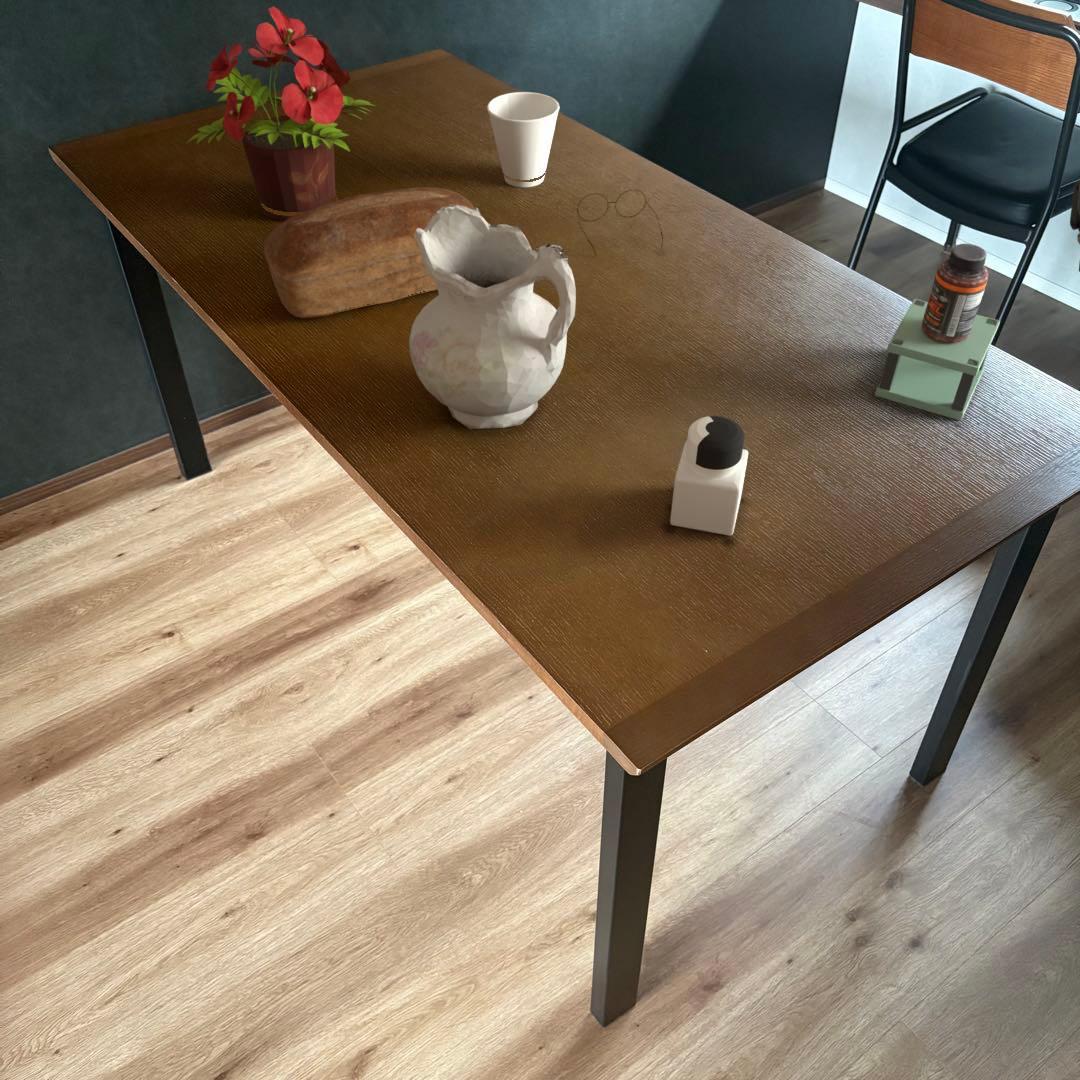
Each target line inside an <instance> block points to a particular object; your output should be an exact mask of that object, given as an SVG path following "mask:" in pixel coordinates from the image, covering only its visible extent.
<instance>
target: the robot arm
mask: <svg viewBox="0 0 1080 1080" xmlns="http://www.w3.org/2000/svg"><path fill="white" fill-rule="evenodd" d="M1073 186H1074V187H1073V193H1072V200H1071V201H1072V202H1071V209H1070V210H1071V211H1070V217H1069V226H1070V228H1071V230H1072V231H1075V230H1078V231H1079V232H1078V234H1077V240H1076V241H1077V242H1078V244H1079V245H1080V180H1077V181H1075V182H1074V185H1073ZM1078 272H1079V273H1080V261H1079V264H1078Z"/></svg>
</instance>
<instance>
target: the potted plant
mask: <svg viewBox="0 0 1080 1080" xmlns="http://www.w3.org/2000/svg"><path fill="white" fill-rule="evenodd" d="M268 12H269V14H270V16H271V18H272V20H273V21H274V23H275V25H276V28H275V26H274V25H272V24H271V23H269V22H267V21H266V22H263V23H259V24H258V26H257V28H256V31H255V33H256V41H257V43H258V44H259V45H258V44H256V43H255V42H252V41H249V42H250V44H251V45H253V46H254V47H256V48H258V49H259V50H257V49H255V48H249V49H248V53H249V54H250V55H251V57H255V58H257V59H251V64H252V65H254V66H258V67H262V68H265V69H269V68H270V70H269V71H270V72H269V78H268V79H269V80H268V85H263V86H262V82H261V79H260V77H256V78H252V75H251V74H250V73H248V74H245V75H243V76H242V75H241V72H240V71H239V70H238V69H237V68H236V66H237V64H238V63H239V60H238V57H236V56H238V55H239V54H241V53H242V51H243V47H242V44H241V43H235V44H233V45H231V47H230V49H229V51H228V55H227V41H225V42H224V43H223V46H222V49H221V51H220V53H219V54H218V55H217V57H216V58H215V59H213V60H212V61H211V63H210V67H209V73H207V79H206V87H205V90H206V91H208V92H209V91H212V93H215V94H216V93H217V94H218V93H221V94H222V93H224V94H223V95H222V96H220V97H219V98H218V99H217V102H223V101H224V102H226V107H225V112H224V113H223V117H220V118H219V119H218V120H215V121H213V122H212V123H211V124H210V125H204V126H201V127H199V128H197V129H196V130H197V131H199V132H198V133H196V134H194V135H193V136H191V138H190V139H188V140H187V142H186V144H188V143H189V142H191V141H192V140H194V139H197V140H196V143H195V144H196V145H198V144H199V143H200V142H201V141H203V140H204V139H205V138H206V137H208V136H209V137H208V142H207V143H208V145H209V144H210V143H211V141H212V140H213V139H214V138H215V136H216V141H217V143H219V142H220V140H221V139H222V137H223V135H224V134H225V133H226V135H227V136H228V137H229V138H230V139H231V140H232V141H237V142H241V143H242V146H243V149H244V153H245V155H246V160H247V162H248V165H249V169H250V172H251V175H252V178H253V181H254V184H255V188H256V191H257V195H258V198H259V200H258V205H259V208H260V210H261V213H262V214H263V215H264V216H266V218H269V219H272V220H274V221H277V222H278V221H279V222H284V221H286V220H287V219H289V218H291V217H293V216H283V215H276V214H273V213H271V212H268V211H266V210H265V209H264V208H263V207H262V205H260V204H261V203H263V204H264V205H265V206H266V207H268V208H271V209H273V210H278V211H283V212H305V211H307V210H310V209H313V208H317V207H320V206H323V205H325V204H326V203H328V202H330V200H331V199H332V198H333V197H334V194H336V197H335V201H338V200H339V199H338V194H337V191H336V173H335V172H336V170H335V169H336V168H335V145H337V146H338V147H340V148H343V149H344V150H346V151H348V152H351V150H350V148H349V146H348V145H347V143H346V142H345V141H343V140H342V139H339V138H342V137H348V136H350V134H347V133H345V132H343V130H342V129H339V128H336V127H337V126H338V125H339V124H338V123H336V122H335V121H336V120H337V119H338V118H339V116H340V115H341V114H343V115H348V116H351V117H354V118H357V119H360V120H362V121H363V119H362V118H361V117H360V116H358V115H356V114H354V113H351V112H345V111H342V110H350V111H356V112H359V113H363V114H365V115H368V116H370V114H369V113H368V112H371V113H373V111H371V110H369V109H368V108H365V107H362V106H364V105H365V106H366V105H367V106H373V107H378V106H377V105H375V103H372V102H369V101H367V100H363V99H354V98H353V97H351V96H349V95H344V94H343V93H342V91H341V89H340V88H342V87H344V86H346V85H348V83H349V82H350V81H351V75H350V72H349V71H347V70H342V68H341V67H340V65H339V63H338V61H337V60H336V58H335V57H333V55H332V54H331V53H330V47H329V46H328V45H327V44H326V43H325V42H324V41H323V40H320V39H318V38H316V37H313V36H314V35H313V34H311V33H310V34H306V33H307V31H308V30H307V28H306V25H305V24H304V23H303V21H301V20H300V19H298V18H290V17H289V16H287V15H286V14H285V13H284V12H282V11H280V10H279V8H276V7H275V6H272V7H269V8H268ZM260 50H261V52H262V53H261V52H260ZM290 50H291V51H292V53H293V54H294V55H296V56H297V57H298V58H297V59H298V61H297V62H296V61H295V60H294V59H292V58H291V57H289V56H287V55H286V53H288V52H289V51H290ZM259 58H265V59H266V60H262V59H259ZM282 62H285V63H290V64H292V65H294V67H293V72H294V75H295V79H296V80H297V82H298V83H299V84H296V83H292V82H291V83H289V84H288V85H286V86H284V88H283V91H282V94H281V97H280V96H277V93H276V80H277V76H278V72H279V69H280V66H281V64H282ZM307 62H308V63H309V64H310V65H312V66H318V69H316V68H313V67H311V66H310V65H309V64H308V63H307ZM276 66H277V67H276ZM274 67H276V70H275V74H274V77H273V80H272V73H273V68H274ZM271 81H272V83H271ZM216 84H217V85H221V87H219V88H217V89H216V90H214V88H215V86H216ZM272 84H273V86H272V87H273V97H272V96H271V85H272ZM243 92H244V93H243ZM242 94H243V95H242ZM238 101H241V103H238ZM264 104H271V106H272V110H273V113H274V117H270V115H269V113H268V111H267V109H266V108H265V106H264ZM345 105H346V106H345ZM360 105H361V106H360ZM277 106H281V107H282V109H283V111H284V113H285V115H279V114H278V109H277ZM258 107H262V108H263V110H264V111H265V114H266V115H267V119H264V118H263V116H262V114H261V113H260V112H259V110H258V109H257V108H258ZM255 111H256V112H257V113H259V115H260V117H261V118H262V120H260V119H255V118H252V117H253V116H254V114H255ZM366 111H367V112H366ZM373 114H374V113H373ZM248 120H251V121H256V122H255V123H253V124H251V125H250V126H248V127H247V128H246V125H247V123H246V122H247V121H248ZM244 128H246V129H245V131H244ZM244 132H245V133H244ZM260 201H261V202H260ZM335 201H334V202H335Z"/></svg>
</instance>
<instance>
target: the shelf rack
mask: <svg viewBox="0 0 1080 1080" xmlns="http://www.w3.org/2000/svg"><path fill="white" fill-rule="evenodd" d="M927 304H928V301H927V300H922V299H919V298H914V299H913V301H912V303H911V304H910V305H909V308H908V310H907V311H906V313H905V315H904V316H903V318H902V320H901V322H900V323H899V325H898V327H897V328H896V330H895V332H894V333H893V335H892V337H891V339H890V341H889V343H888V345H887V348H886V352H887V354H886V355H887V356H886V360H885V363H884V367H883V371H882V375H881V379H880V381H879V384H878V386H877V388H876V390H875V393H874V396H875V397H878V398H881V399H886V400H889V401H892V402H895V403H898V404H902V405H905V406H909V407H913V408H916V409H919V410H923V411H926V412H930V413H933V414H937V415H939V416H942V417H943V416H944V417H946V418H949V419H954V420H957V421H962V420H963V417H964V416H965V413H966V410H967V409H968V406H969V404H970V401H971V399H972V397H973V395H974V393H975V392H976V391H975V390H976V388H977V386H978V384H979V382H980V379H981V378H982V375H983V373H984V370H985V367H986V364H985V362H986V359H987V356H988V353H989V350H990V348H991V344H992V342H993V340H994V338H995V335H996V333H997V331H998V329H999V326H1000V323H1001V320H999V319H995V318H991V317H987V316H983V315H979V314H976V317H975V320H974V323H973V326H972V329H971V332H970V335H969V336H968V338H967V339H965V340H963V341H962V342H957V343H944V342H940V341H936V340H934V339H932V338H930V337H929V336H927V335H926V334H925V333H924V331H923V329H922V322H923V317H924V314H925V311H926V308H927Z"/></svg>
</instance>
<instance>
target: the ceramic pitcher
mask: <svg viewBox="0 0 1080 1080" xmlns="http://www.w3.org/2000/svg"><path fill="white" fill-rule="evenodd" d="M436 213H437V214H435V215H434V216H433V217H432V218H431V219H430V221H429V222H428V224H427V226H426V228H425V229H423V230H422V229H421V228H417V230H416V232H415V237H414V238H415V239H416V240H417V242H418V245H419V248H420V252H421V256H422V259H423V262H424V264H425V267H426V268H427V270H428V272H429V274H430V276H431V277H432V279H433V280H434V281H435V283H436V285H437V288H438V290H437V292H438V295H437V296H436V297H433V298H432V300H431V301H429V302H428V303H426V305H425V306H423V307H422V309H421V310H420V312H419V313H418V314H417V315H416V317H415V319H414V321H413V323H412V326H411V330H410V334H409V335H410V336H409V339H408V345H409V354H410V359H411V362H412V365H413V367H414V370H415V373H416V376H417V377H418V379H419V381H420V382H421V384H422V385H423V387H424V388H425V389H426V391H427V392H429V393H430V394H431V395H432V396H433V397H434V398H435V399H436V400H437V401H438V402H439V403H441V404H442V405H444V406H446V407H447V408H448V410H449V412H450V414H451V417H452V418H453V419H455V421H457V422H459V423H460V424H462V425H463V426H465V427H466V428H467V429H469V430H474V429H476V430H478V429H505V428H509V427H514V426H521V425H522V424H524V423H525V422H526V421H527V420H528V419H529V418H530V417H531V416H532V415H533V414H534V413H535V412H536V411H537V410H538V408H539V401H540V400H541V399H542V398H544V396H545V395H546V394H547V393H549V391H550V390H551V389H552V387H553V386H554V384H555V383H556V381H557V380H558V378H559V376H560V375H561V373H562V370H563V367H564V363H565V358H566V352H567V338H568V335H567V334H568V331H569V328H570V326H571V325H572V322H573V321H574V318H575V316H576V305H577V289H576V283H575V282H576V281H575V277H574V273H573V270H572V268H571V267H570V265H569V262H568V258H569V255H568V254H567V253H565V252H564V249H563V248H562V247H561V246H560V245H556V244H550V243H547V244H544V245H541V246H535V250H534V249H532V246H531V244H530V243H529V240H528V239H527V237H526V235H525V234H524V233H523V232H522V230H521V229H520V228H519V226H512V225H509V224H506V223H505V224H493V225H492V224H491V223H488V222H487V220H485V218H484V216H482V214H481V212H480V210H479V208H478V207H475V210H472V209H469V208H467V207H465V206H459V205H456V204H453V205H451V204H450V205H448V206H446V207H444V206H443V207H442V208H441V209H439V210H438V211H437V212H436ZM559 248H560V249H559ZM540 280H541V281H542V280H547V281H549V282H551V283H552V284H554V287H555V289H556V292H557V294H558V299H559V305H558V307H557V309H556V307H554V306H553V304H552V303H550V302H549V301H548V300H547V299H545V298H544V297H542V296H540V295H539V294H537V293H535V292H534V285H535V282H537V281H540Z"/></svg>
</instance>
